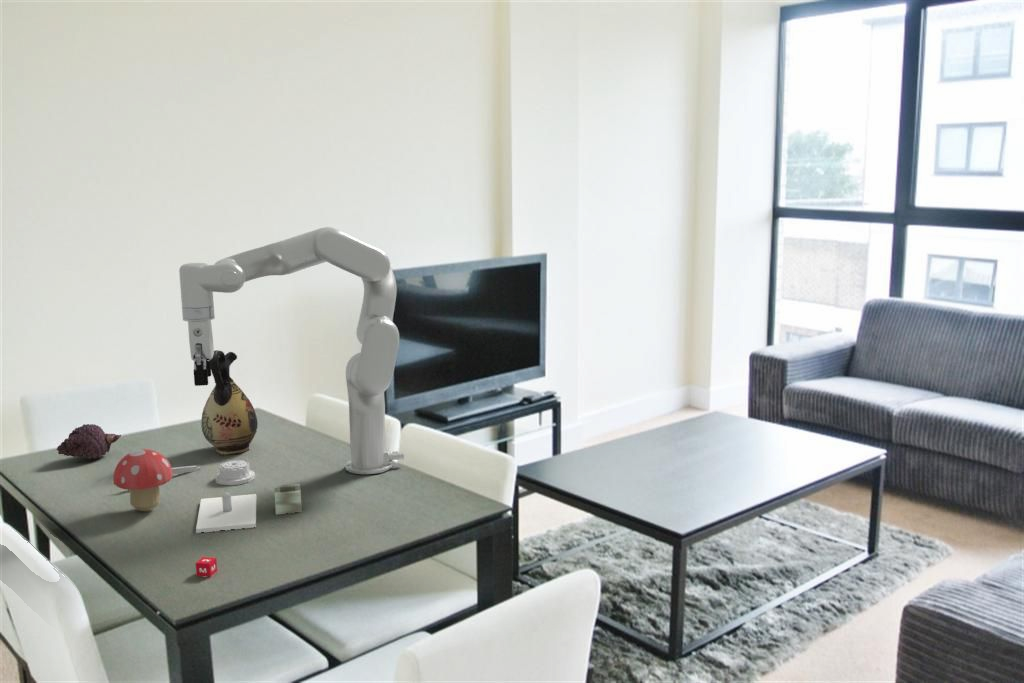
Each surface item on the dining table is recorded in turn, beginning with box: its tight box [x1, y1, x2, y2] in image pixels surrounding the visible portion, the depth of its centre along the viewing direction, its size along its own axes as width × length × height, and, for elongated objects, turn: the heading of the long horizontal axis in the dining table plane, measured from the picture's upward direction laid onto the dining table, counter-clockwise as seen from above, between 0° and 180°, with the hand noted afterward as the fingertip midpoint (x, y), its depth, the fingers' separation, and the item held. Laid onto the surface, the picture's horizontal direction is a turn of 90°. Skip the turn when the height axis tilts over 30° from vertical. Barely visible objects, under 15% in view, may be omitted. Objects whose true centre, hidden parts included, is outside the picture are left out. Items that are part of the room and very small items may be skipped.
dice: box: [195, 556, 218, 578], centre depth 195 cm, size 3×3×3 cm
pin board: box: [195, 491, 257, 534], centre depth 226 cm, size 13×20×6 cm, turn 14°
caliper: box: [172, 465, 202, 475], centre depth 252 cm, size 20×1×6 cm, turn 146°
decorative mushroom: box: [112, 448, 174, 512], centre depth 228 cm, size 13×13×15 cm
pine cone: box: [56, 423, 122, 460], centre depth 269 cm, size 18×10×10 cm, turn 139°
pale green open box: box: [274, 483, 303, 516], centre depth 230 cm, size 6×6×5 cm
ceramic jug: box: [200, 349, 259, 456], centre depth 273 cm, size 17×15×30 cm
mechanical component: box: [214, 459, 256, 486], centre depth 252 cm, size 10×4×10 cm
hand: (203, 380), depth 240 cm, fingers open, 9 cm apart
